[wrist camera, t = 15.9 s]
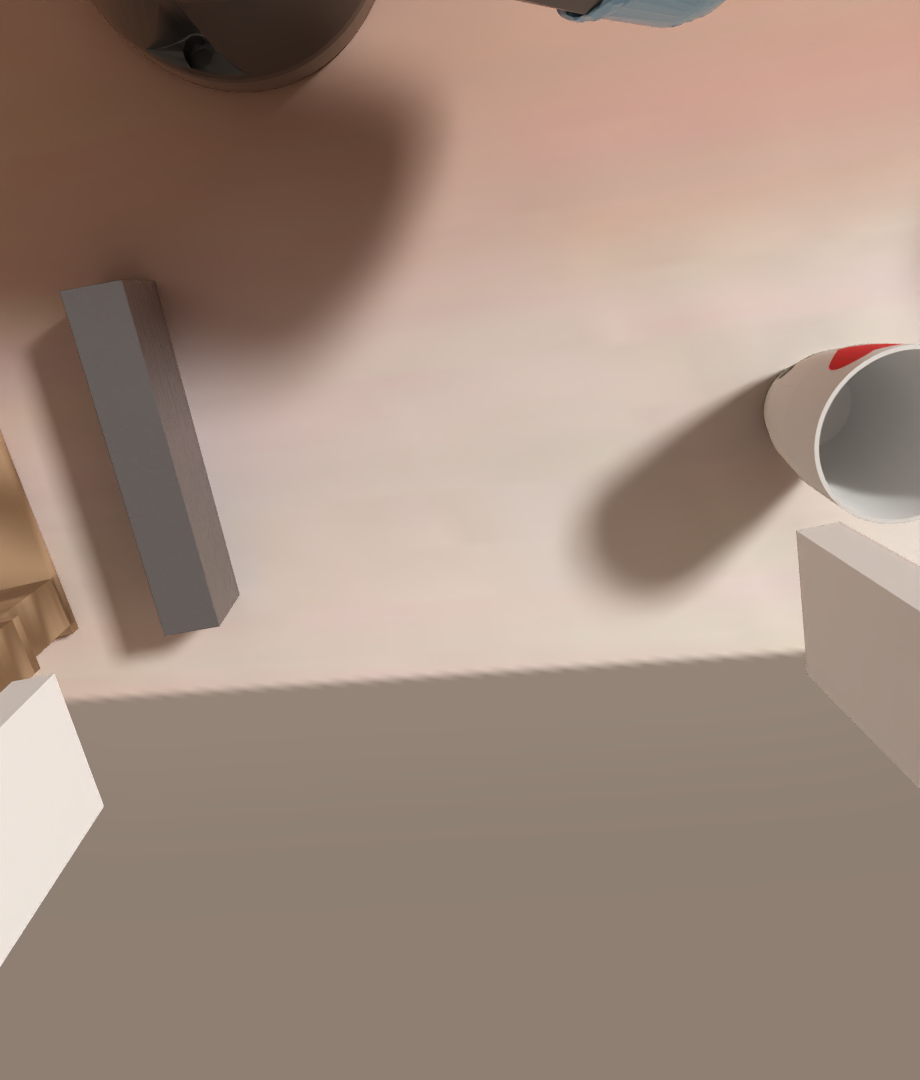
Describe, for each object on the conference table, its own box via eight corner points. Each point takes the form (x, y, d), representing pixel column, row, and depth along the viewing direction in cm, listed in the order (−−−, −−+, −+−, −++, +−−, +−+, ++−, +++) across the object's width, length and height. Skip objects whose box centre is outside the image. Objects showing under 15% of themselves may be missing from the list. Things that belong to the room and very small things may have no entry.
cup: (898, 346, 45) (1022, 361, 36) (853, 487, 48) (958, 536, 38) (758, 321, 45) (846, 329, 35) (720, 464, 47) (792, 509, 37)
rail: (100, 291, 44) (59, 291, 39) (156, 280, 43) (121, 279, 39) (191, 601, 49) (164, 635, 44) (240, 593, 49) (219, 626, 44)
